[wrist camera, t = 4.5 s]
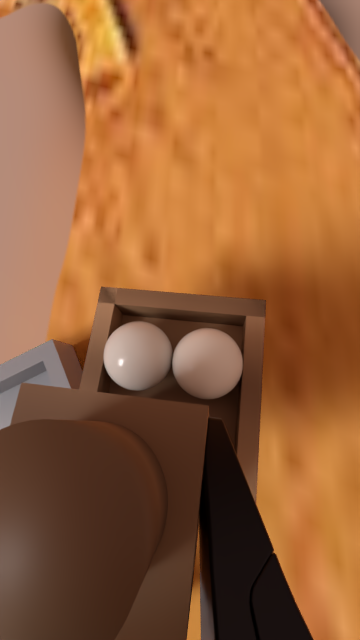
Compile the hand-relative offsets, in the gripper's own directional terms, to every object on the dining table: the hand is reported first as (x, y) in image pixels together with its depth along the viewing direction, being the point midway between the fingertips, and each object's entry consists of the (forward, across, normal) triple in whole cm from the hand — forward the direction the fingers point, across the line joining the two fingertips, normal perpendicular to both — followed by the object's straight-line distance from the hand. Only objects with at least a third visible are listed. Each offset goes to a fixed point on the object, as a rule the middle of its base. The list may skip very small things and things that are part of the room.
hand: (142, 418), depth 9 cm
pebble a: (+5, -2, +2) cm, 5 cm away
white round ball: (+5, +2, +2) cm, 5 cm away
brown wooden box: (+5, 0, +5) cm, 7 cm away
